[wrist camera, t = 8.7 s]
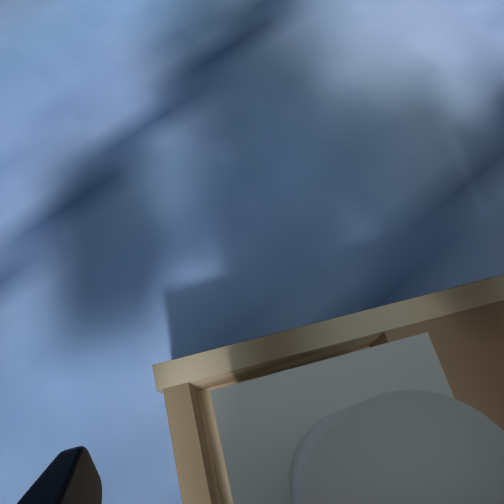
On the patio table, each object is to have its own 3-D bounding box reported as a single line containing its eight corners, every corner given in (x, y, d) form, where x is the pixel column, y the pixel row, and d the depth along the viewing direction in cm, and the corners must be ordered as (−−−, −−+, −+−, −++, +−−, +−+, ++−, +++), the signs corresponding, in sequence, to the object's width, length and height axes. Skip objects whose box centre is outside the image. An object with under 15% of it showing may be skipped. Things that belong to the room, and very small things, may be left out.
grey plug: (389, 510, 15) (773, 732, 4) (270, 544, 15) (270, 903, 3) (348, 387, 17) (527, 262, 5) (240, 416, 16) (169, 357, 5)
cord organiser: (219, 634, 15) (205, 688, 12) (172, 373, 18) (151, 358, 15) (794, 465, 16) (926, 471, 13) (656, 248, 19) (734, 209, 16)
